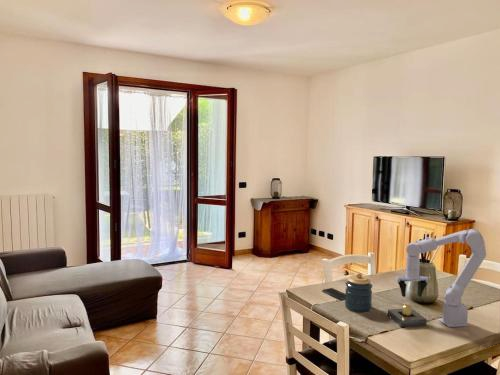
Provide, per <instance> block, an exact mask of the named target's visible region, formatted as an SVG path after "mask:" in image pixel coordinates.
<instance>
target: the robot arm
mask: <svg viewBox="0 0 500 375" xmlns="http://www.w3.org/2000/svg"><path fill="white" fill-rule="evenodd" d="M452 243H459V244H460V243H461V244H463V245H464V244H465V243H466V244H467V245H468V247H469V248H470V250H471V252H472V253H471V255H470V256H469V258H468V260H467V261H466V263H465V265H464V266H463V268H462V269H461V271H460V273H459V274H458V276H457V277H456V279H455V281H454V282H452V284H451V285H450V286H449V287H447V288H446V289H445V292H444V293H445V296H444V300H443V307H442V318H441V317H440V318H438V319H437V320H439V322H440V323H441V322H442V323H443V324H444V325H446V326H447V327H449V328H455V327H456V328H457V327H458V328H460V327H469V324H468V313H469V311H468V307H467V306H466V305H465V303H462V296H463V295H464V293H465V290H466V288H467V287H468V285H469V284H470V282H471V280H472V279H473V277H474V276H475V274H476V273H477V271H478V270H479V268H480V266H481V265H482V263H483V262H484V260H485V258H486V256H487V252H486V251H487V250H486V245H485V240H484V238H483V236H482V234H481V232H480V231H479V230H478V229H476V228H470V229H464V230H461V231H456V232H453V233H450V234H447V235H444V236H442V237H438V238H434V237H429V236H427V237H425V239H422V240H415V241H412V242H409V243H408V244H407V246H406V248H405V249H406V260H405V261H406V264H405V275H401V276H396V277H395V281H396V282H397V284H398V285H399V288H400V293H401V296H402V297H403V298H405V297H406V290H407V283H406V282H416V283H417V296H418V297H419V298H421V297H422V294H423V292H424V290H425V288H426V287H427V285H428V283H429V277H428V276H423V275H422V276H421V275H420V262H421V261H420V254H424V253H429V252H431V251H432V252H433V251H436V250H438V247H439V246H444V245H448V244H452ZM427 282H428V283H427Z"/></svg>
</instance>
